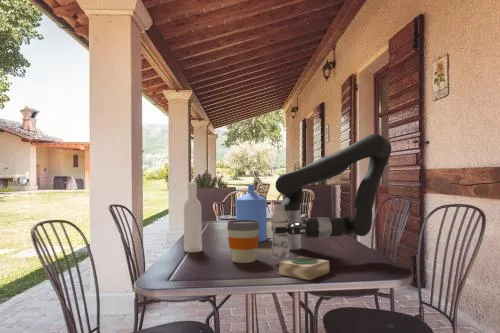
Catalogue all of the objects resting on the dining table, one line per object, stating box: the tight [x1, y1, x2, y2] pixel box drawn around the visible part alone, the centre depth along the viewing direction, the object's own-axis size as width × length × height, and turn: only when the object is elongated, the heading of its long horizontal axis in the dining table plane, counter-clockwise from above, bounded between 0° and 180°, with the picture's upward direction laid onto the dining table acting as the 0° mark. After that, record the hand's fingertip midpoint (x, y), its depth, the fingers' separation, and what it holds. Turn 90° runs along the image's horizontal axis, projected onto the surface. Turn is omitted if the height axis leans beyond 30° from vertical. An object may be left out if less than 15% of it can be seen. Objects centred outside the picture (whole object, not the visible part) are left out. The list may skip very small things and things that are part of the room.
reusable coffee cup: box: [226, 219, 260, 264], centre depth 157 cm, size 13×13×15 cm
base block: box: [278, 255, 330, 281], centre depth 135 cm, size 12×12×4 cm
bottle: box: [183, 182, 203, 253], centre depth 178 cm, size 8×8×30 cm
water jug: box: [235, 184, 268, 243], centre depth 205 cm, size 16×16×28 cm
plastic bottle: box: [270, 203, 290, 260], centre depth 150 cm, size 6×7×20 cm
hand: (273, 229), depth 150 cm, fingers closed on plastic bottle, 6 cm apart
